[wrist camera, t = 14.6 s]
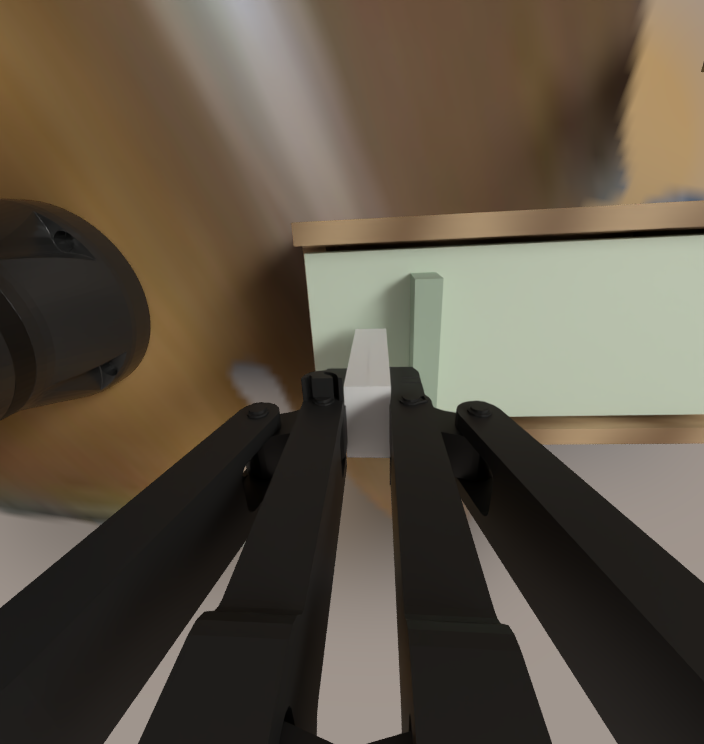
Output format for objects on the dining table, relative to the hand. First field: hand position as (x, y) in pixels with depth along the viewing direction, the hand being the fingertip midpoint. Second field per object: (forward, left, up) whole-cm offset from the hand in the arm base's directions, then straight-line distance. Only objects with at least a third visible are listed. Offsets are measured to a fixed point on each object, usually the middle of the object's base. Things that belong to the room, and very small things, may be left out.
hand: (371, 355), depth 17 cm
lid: (+8, 0, -2) cm, 8 cm away
